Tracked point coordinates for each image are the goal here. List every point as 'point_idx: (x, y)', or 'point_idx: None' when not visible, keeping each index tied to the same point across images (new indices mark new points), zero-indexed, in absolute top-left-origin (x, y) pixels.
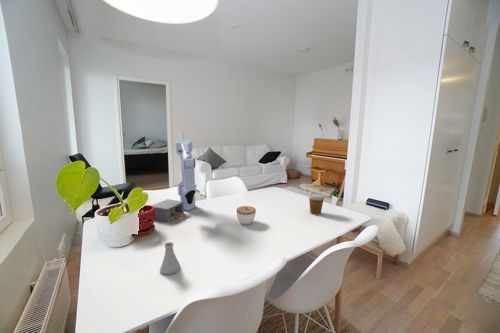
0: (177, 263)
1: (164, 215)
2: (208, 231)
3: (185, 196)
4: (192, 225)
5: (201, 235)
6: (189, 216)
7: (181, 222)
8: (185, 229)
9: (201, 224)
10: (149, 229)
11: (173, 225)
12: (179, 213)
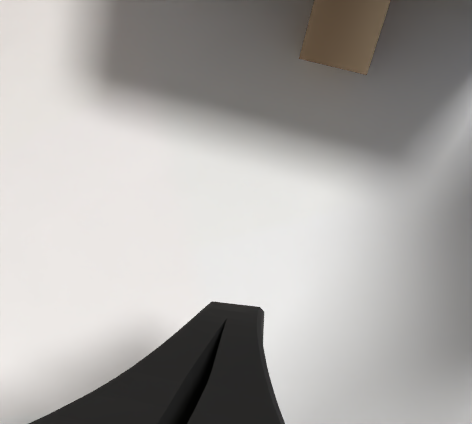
0: None
1: None
2: None
3: (59, 414)
4: (155, 266)
5: (12, 374)
6: (406, 151)
7: (200, 122)
8: (59, 228)
9: None
10: None
11: (103, 62)
12: (351, 21)
